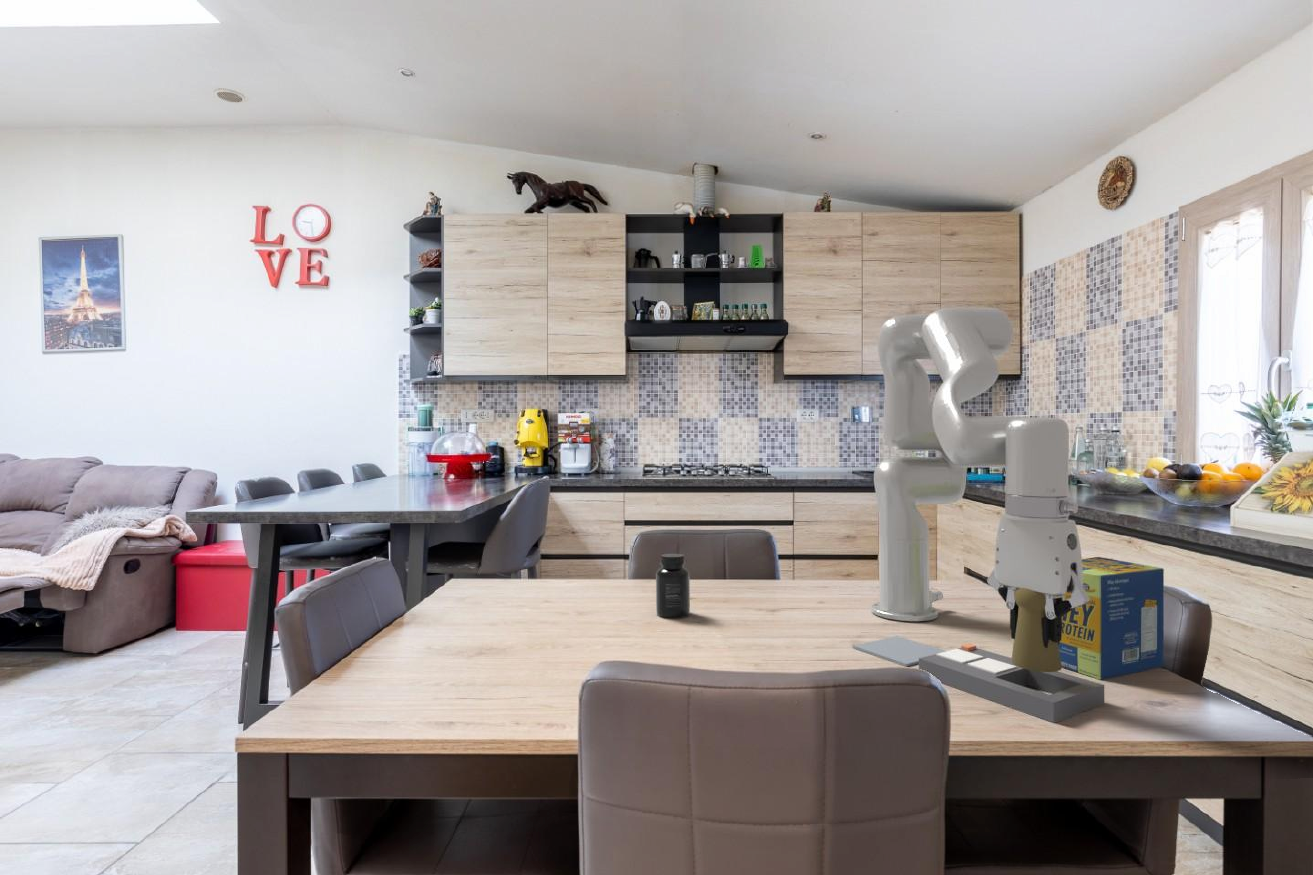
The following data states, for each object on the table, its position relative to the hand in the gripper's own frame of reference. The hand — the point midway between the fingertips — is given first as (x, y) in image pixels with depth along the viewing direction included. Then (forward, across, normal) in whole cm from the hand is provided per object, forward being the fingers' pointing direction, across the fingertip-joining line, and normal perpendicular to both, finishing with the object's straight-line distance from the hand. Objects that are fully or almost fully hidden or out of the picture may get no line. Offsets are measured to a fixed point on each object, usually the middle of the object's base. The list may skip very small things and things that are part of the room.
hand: (1035, 640), depth 93 cm
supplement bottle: (+9, +63, +19) cm, 66 cm away
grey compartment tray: (+8, +4, 0) cm, 9 cm away
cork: (+3, 0, 0) cm, 3 cm away
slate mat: (+8, +23, -1) cm, 24 cm away
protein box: (+8, +3, -23) cm, 24 cm away
